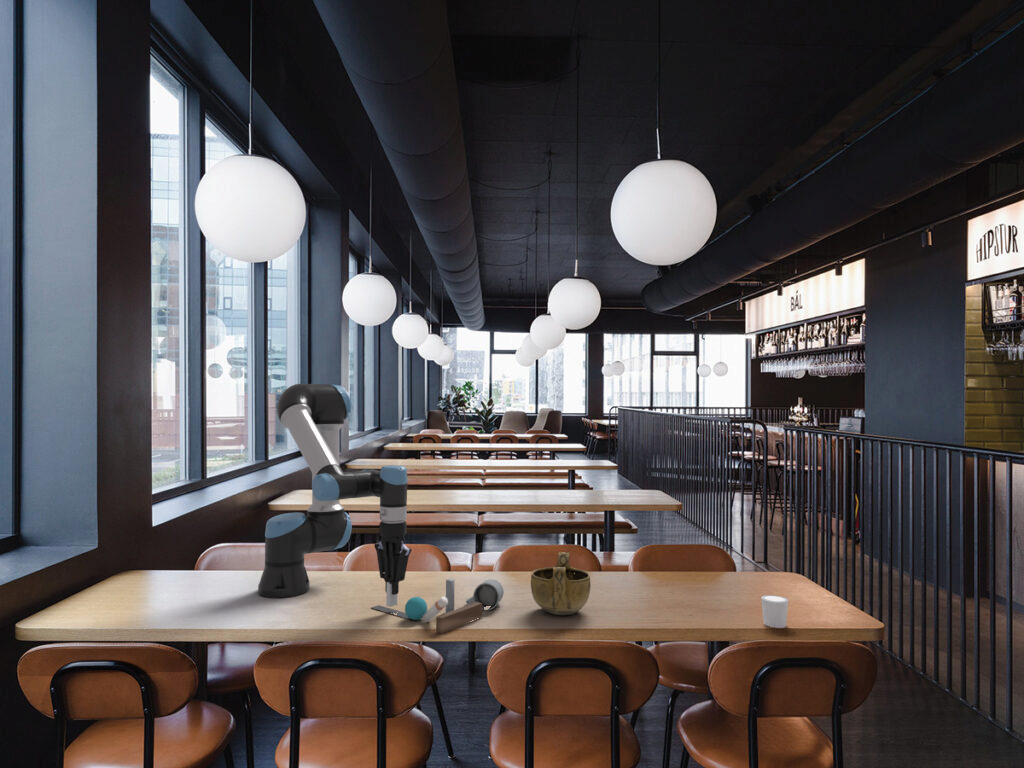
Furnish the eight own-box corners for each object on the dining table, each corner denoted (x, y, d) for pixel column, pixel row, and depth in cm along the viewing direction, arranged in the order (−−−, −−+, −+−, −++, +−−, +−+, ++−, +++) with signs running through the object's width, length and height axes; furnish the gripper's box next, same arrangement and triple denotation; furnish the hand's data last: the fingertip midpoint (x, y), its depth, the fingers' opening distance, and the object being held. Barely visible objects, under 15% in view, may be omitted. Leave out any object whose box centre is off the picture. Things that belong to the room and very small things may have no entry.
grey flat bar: (370, 608, 186) (370, 607, 186) (378, 605, 188) (378, 605, 188) (410, 620, 176) (410, 619, 176) (418, 617, 178) (418, 616, 178)
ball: (419, 615, 172) (406, 626, 174) (435, 609, 176) (423, 620, 179) (408, 595, 174) (397, 606, 177) (425, 590, 179) (413, 601, 182)
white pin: (420, 615, 174) (438, 597, 170) (427, 613, 176) (445, 595, 172) (425, 624, 173) (443, 605, 169) (431, 621, 175) (449, 603, 171)
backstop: (436, 632, 167) (436, 616, 167) (476, 616, 179) (476, 601, 180) (441, 634, 165) (442, 618, 166) (481, 618, 178) (482, 603, 178)
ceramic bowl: (589, 627, 172) (589, 570, 172) (525, 623, 174) (526, 567, 175) (591, 602, 194) (591, 551, 194) (534, 598, 196) (535, 549, 197)
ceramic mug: (504, 603, 192) (504, 576, 192) (498, 611, 184) (498, 584, 184) (470, 601, 194) (470, 575, 194) (462, 609, 186) (462, 582, 186)
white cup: (756, 620, 179) (756, 594, 179) (780, 619, 180) (780, 594, 180) (768, 629, 172) (768, 602, 172) (793, 628, 173) (793, 602, 173)
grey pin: (443, 612, 182) (444, 580, 183) (449, 610, 184) (450, 578, 185) (450, 614, 181) (450, 581, 181) (455, 612, 183) (456, 580, 183)
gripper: (367, 520, 184) (365, 603, 183) (399, 525, 176) (397, 613, 176) (387, 516, 190) (386, 597, 189) (419, 521, 182) (417, 606, 182)
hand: (391, 605), depth 183 cm, fingers closed
